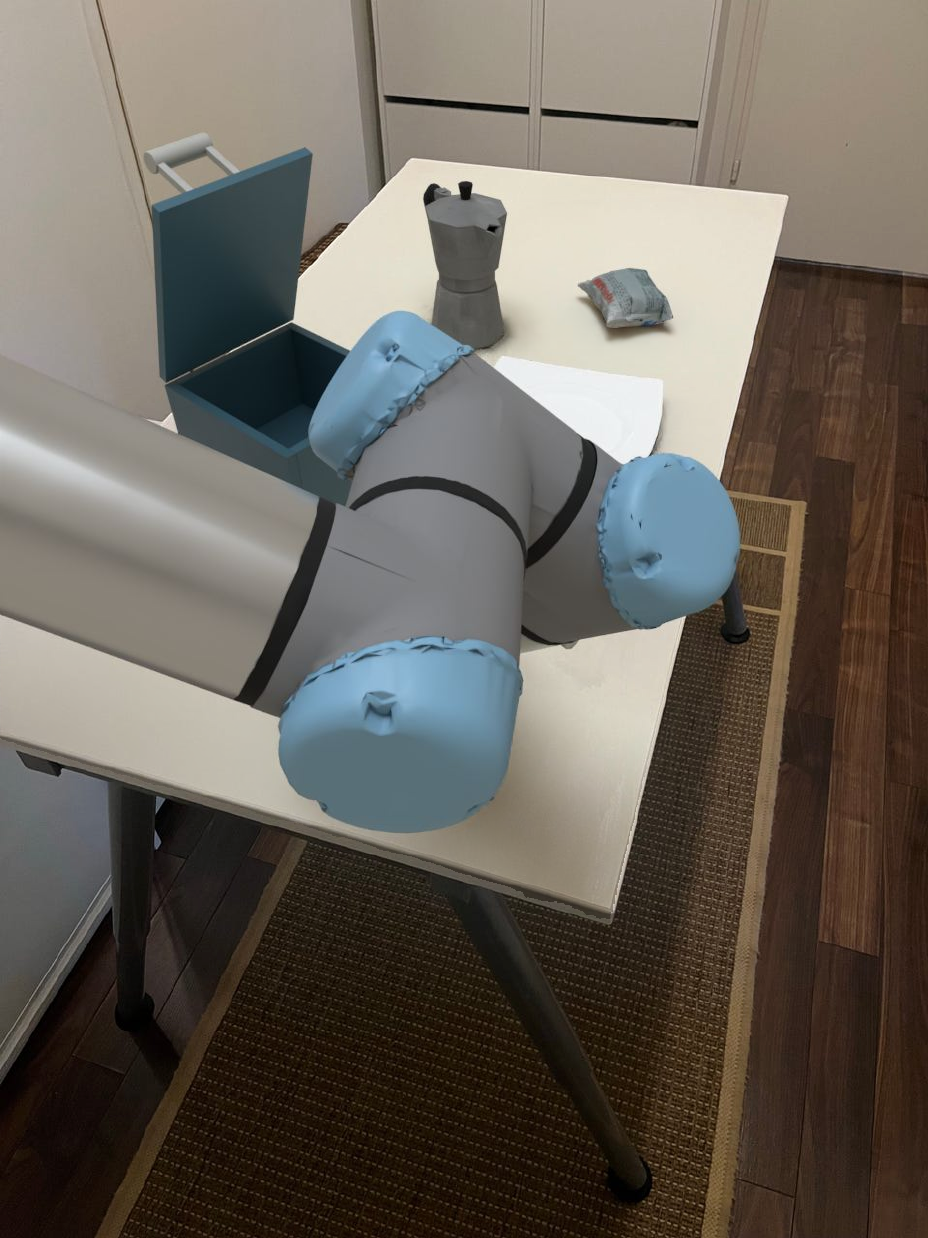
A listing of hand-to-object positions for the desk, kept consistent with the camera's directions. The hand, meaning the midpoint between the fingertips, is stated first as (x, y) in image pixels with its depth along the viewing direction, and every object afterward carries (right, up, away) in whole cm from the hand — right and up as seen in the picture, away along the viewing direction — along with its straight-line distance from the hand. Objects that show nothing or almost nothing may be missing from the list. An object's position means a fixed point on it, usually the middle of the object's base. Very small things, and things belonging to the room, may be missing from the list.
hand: (347, 643), depth 72 cm
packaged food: (+29, +40, +45) cm, 66 cm away
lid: (-12, +33, +12) cm, 37 cm away
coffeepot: (+9, +38, +43) cm, 58 cm away
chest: (-7, +17, +23) cm, 30 cm away
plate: (+20, +22, +27) cm, 40 cm away
